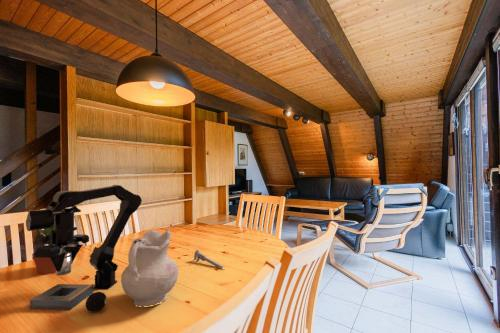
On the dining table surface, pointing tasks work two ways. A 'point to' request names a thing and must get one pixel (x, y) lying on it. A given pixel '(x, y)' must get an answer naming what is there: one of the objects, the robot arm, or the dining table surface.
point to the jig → (62, 297)
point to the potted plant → (45, 263)
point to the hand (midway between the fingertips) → (63, 268)
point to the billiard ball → (96, 302)
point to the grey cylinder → (65, 265)
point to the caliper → (205, 259)
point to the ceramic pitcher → (149, 269)
